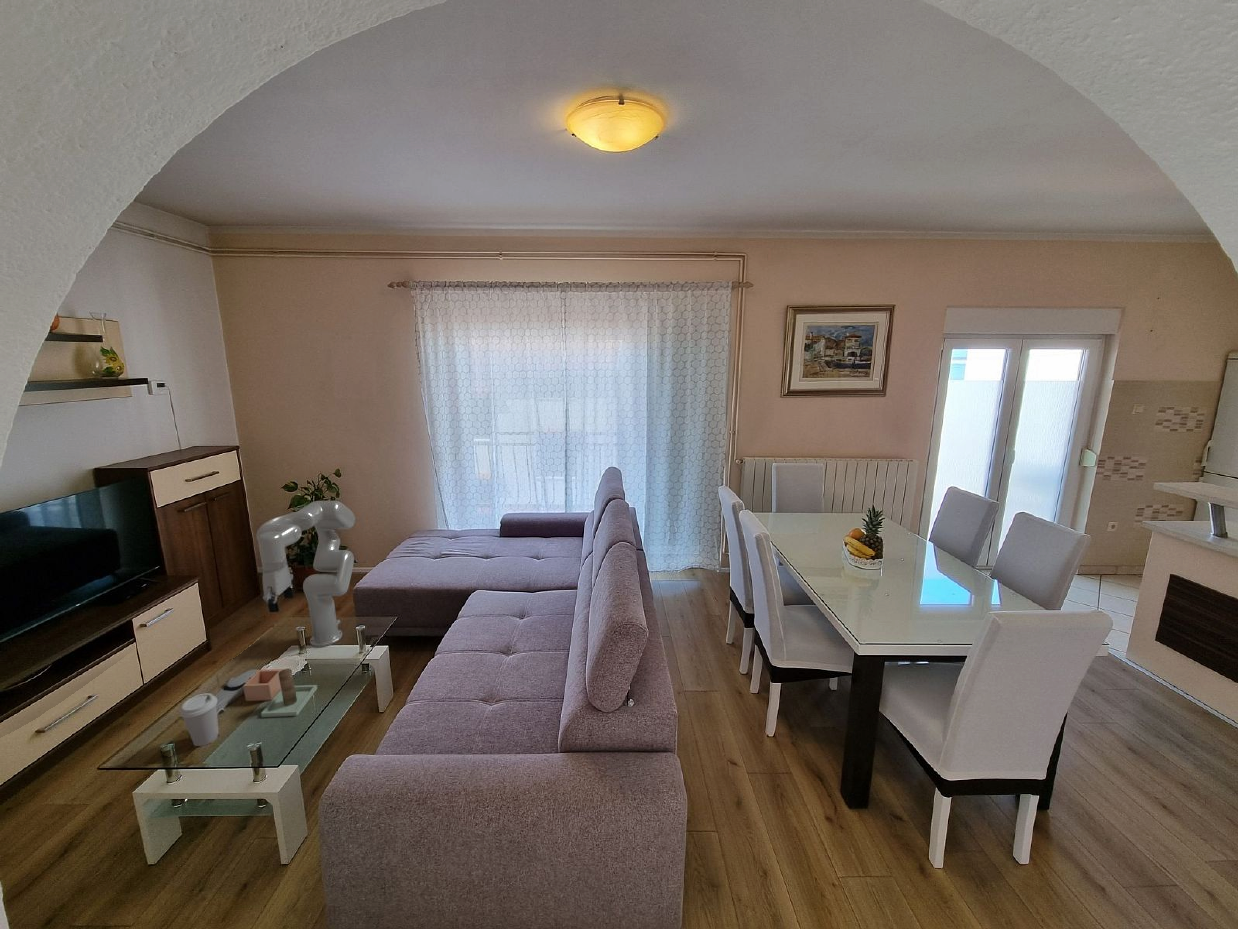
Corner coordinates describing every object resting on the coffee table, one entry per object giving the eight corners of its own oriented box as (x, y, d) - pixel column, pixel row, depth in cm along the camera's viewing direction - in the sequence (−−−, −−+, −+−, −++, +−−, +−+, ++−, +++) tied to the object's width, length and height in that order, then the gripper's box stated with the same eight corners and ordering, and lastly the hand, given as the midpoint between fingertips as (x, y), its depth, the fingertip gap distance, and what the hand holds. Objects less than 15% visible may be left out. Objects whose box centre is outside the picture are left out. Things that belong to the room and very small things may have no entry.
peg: (288, 698, 181) (282, 668, 177) (299, 697, 181) (293, 668, 178) (281, 706, 177) (275, 676, 173) (293, 705, 177) (287, 675, 174)
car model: (187, 721, 171) (184, 709, 169) (244, 675, 194) (242, 664, 193) (216, 723, 170) (214, 711, 169) (270, 677, 193) (268, 666, 192)
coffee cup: (203, 753, 157) (194, 714, 154) (179, 747, 159) (170, 709, 156) (231, 730, 167) (223, 694, 163) (209, 725, 168) (200, 689, 165)
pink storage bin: (261, 686, 188) (258, 669, 186) (286, 685, 188) (283, 669, 187) (246, 703, 179) (243, 686, 177) (272, 702, 180) (268, 685, 178)
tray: (284, 691, 185) (283, 686, 185) (317, 690, 186) (316, 685, 186) (261, 719, 172) (260, 713, 171) (297, 718, 173) (296, 712, 172)
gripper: (277, 554, 188) (284, 593, 192) (249, 575, 171) (257, 617, 176) (298, 553, 189) (304, 592, 193) (271, 575, 172) (279, 617, 177)
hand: (282, 604), depth 185 cm, fingers open, 9 cm apart
